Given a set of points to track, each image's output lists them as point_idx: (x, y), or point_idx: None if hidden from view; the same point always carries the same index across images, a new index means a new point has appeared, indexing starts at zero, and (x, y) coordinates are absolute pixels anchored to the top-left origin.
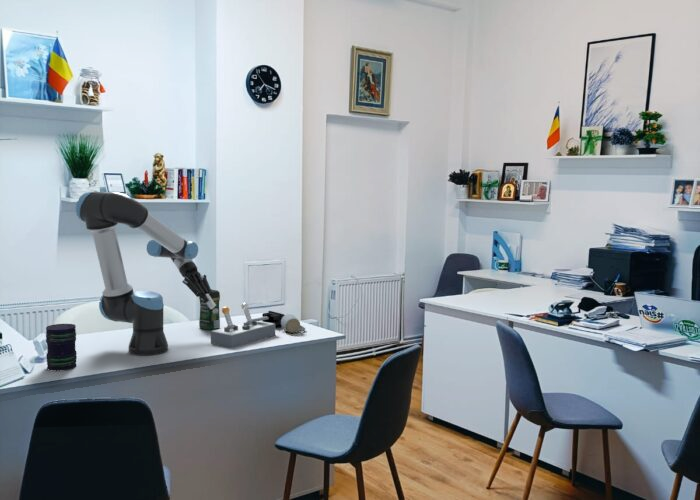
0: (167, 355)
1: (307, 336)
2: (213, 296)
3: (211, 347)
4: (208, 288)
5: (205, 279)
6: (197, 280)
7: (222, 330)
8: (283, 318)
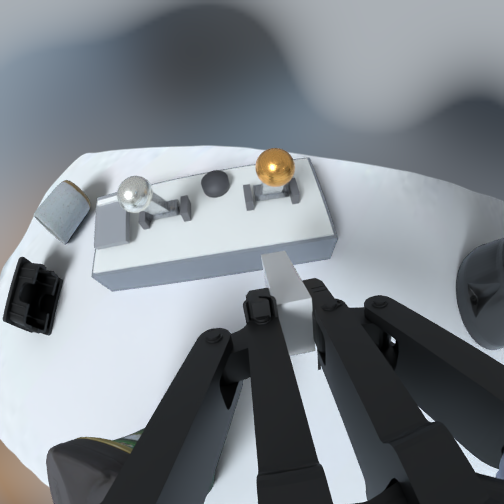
0: (465, 228)
1: (100, 169)
2: (113, 453)
3: (352, 217)
4: (219, 359)
5: (133, 500)
6: (406, 447)
7: (297, 215)
8: (55, 218)
